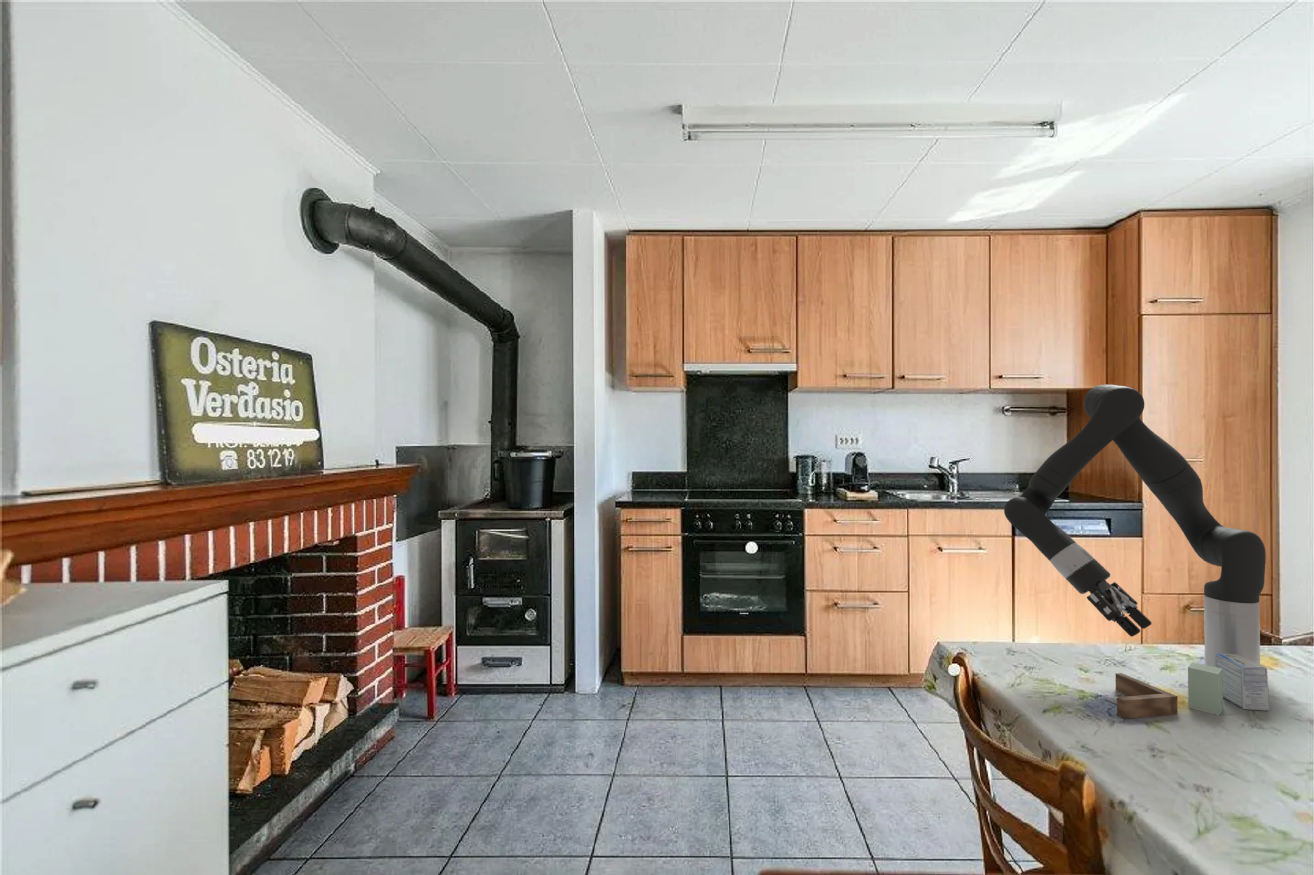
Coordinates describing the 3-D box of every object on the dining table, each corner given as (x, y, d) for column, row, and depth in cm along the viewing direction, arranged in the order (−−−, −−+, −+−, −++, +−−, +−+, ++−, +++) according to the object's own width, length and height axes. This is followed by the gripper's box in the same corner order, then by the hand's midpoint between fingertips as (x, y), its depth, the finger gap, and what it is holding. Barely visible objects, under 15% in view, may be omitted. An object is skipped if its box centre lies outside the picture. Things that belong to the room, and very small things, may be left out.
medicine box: (1269, 711, 119) (1269, 667, 119) (1242, 709, 120) (1242, 666, 120) (1239, 695, 127) (1239, 653, 127) (1214, 693, 128) (1214, 652, 128)
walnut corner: (1121, 689, 130) (1121, 673, 130) (1177, 714, 118) (1177, 696, 118) (1072, 693, 128) (1072, 676, 128) (1124, 718, 116) (1123, 700, 116)
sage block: (1193, 701, 124) (1193, 662, 124) (1223, 708, 120) (1222, 668, 121) (1188, 707, 121) (1187, 667, 121) (1218, 715, 118) (1218, 673, 118)
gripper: (1081, 562, 131) (1148, 627, 122) (1103, 554, 140) (1166, 614, 131) (1054, 582, 135) (1117, 646, 126) (1076, 573, 144) (1136, 633, 135)
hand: (1142, 630), depth 129 cm, fingers open, 8 cm apart
